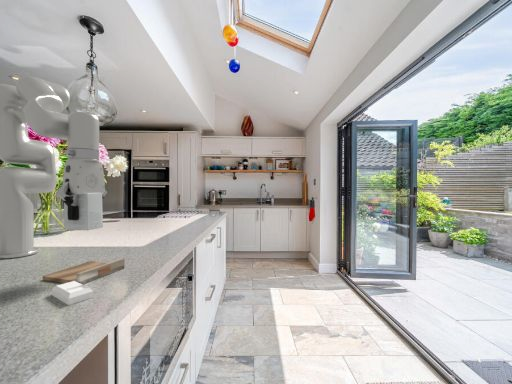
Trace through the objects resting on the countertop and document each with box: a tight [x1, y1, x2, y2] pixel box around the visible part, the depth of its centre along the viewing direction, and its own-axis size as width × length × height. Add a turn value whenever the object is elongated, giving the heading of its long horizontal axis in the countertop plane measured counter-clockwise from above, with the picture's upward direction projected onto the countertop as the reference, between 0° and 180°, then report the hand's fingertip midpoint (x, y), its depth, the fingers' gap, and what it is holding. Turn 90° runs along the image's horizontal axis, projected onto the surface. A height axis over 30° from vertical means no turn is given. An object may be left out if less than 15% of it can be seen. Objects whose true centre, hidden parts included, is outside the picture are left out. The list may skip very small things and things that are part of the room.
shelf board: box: [42, 257, 125, 285], centre depth 76 cm, size 13×15×3 cm
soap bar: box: [51, 281, 94, 306], centre depth 61 cm, size 5×9×3 cm, turn 57°
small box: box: [63, 193, 104, 231], centre depth 76 cm, size 8×6×10 cm
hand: (83, 218), depth 76 cm, fingers closed on small box, 5 cm apart
